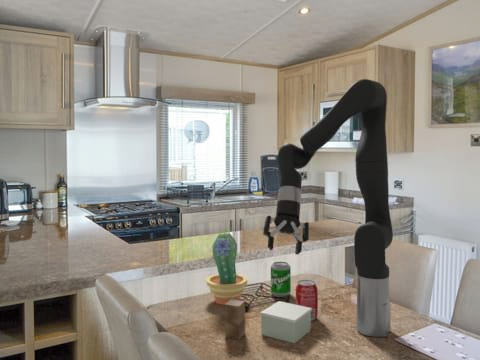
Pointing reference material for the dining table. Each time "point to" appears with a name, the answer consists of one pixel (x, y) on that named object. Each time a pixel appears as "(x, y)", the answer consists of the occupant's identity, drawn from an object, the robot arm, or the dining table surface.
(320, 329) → the dining table surface
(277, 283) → the soda can
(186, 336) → the dining table surface
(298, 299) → the soda can
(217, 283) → the potted cactus
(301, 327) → the storage box
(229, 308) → the walnut block
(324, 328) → the dining table surface
